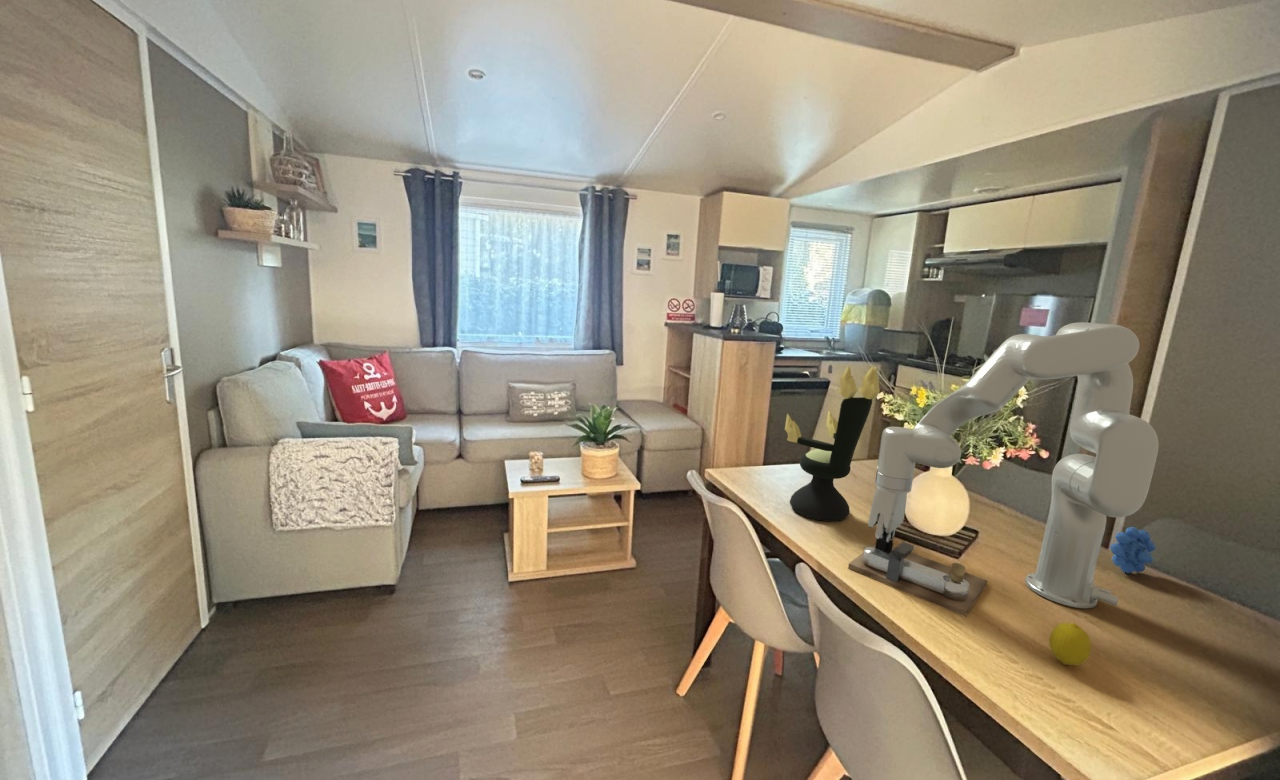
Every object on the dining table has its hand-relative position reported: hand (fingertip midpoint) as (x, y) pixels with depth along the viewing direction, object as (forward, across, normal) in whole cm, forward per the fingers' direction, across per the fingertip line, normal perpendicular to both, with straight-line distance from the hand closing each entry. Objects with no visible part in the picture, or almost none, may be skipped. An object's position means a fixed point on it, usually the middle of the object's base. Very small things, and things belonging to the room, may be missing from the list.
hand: (882, 554), depth 122 cm
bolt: (+1, +3, +8) cm, 8 cm away
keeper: (+2, +3, +5) cm, 6 cm away
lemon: (+3, +9, +35) cm, 37 cm away
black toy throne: (+3, -19, -23) cm, 30 cm away
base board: (+3, -2, +7) cm, 8 cm away
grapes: (+4, -46, +42) cm, 62 cm away
